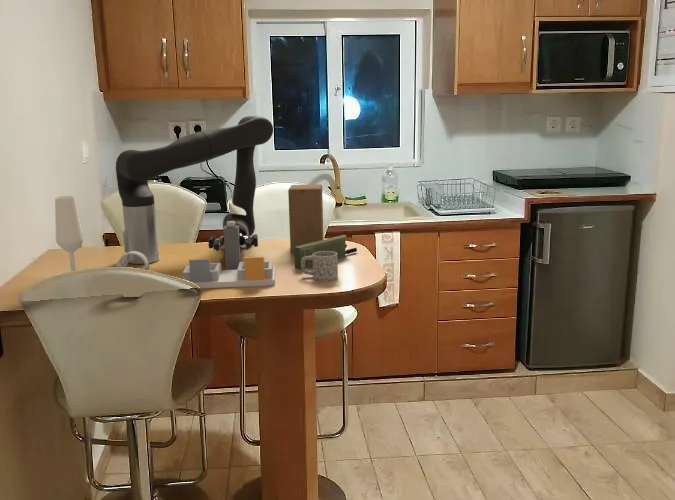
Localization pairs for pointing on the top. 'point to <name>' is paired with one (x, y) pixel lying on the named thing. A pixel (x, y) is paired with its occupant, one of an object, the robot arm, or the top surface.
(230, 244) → the plug
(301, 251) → the handheld radio
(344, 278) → the top surface
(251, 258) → the charging dock
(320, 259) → the mug
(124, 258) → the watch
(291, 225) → the wooden block
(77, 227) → the champagne flute
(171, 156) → the robot arm
